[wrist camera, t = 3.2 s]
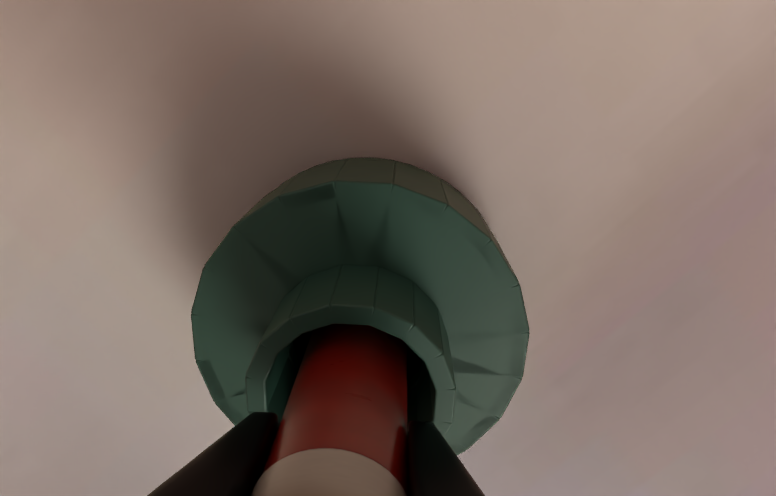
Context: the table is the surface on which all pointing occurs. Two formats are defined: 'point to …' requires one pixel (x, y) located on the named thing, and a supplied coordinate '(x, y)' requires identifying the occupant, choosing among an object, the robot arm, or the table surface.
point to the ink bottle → (364, 293)
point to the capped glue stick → (343, 419)
